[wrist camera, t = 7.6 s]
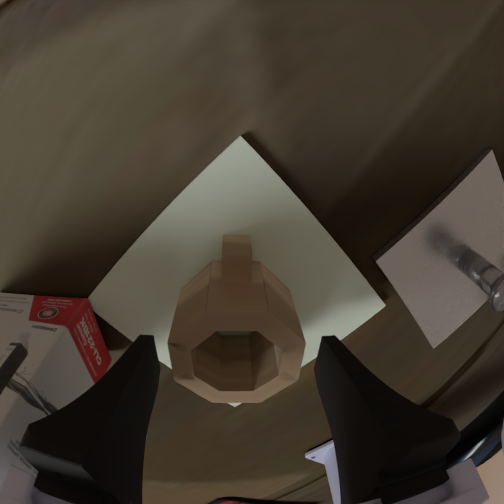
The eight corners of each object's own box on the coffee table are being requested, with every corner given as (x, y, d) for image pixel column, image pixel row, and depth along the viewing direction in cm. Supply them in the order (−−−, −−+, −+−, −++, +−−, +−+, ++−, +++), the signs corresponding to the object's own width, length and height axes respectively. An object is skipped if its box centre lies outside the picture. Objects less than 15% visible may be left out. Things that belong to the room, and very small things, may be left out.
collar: (282, 346, 17) (293, 400, 13) (186, 346, 16) (178, 401, 13) (295, 235, 14) (317, 279, 10) (176, 234, 13) (157, 278, 10)
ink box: (89, 293, 14) (-25, 479, 4) (114, 360, 17) (49, 528, 6) (-4, 288, 15) (-103, 404, 4) (22, 345, 17) (-50, 462, 6)
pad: (382, 300, 16) (385, 305, 16) (234, 401, 19) (234, 407, 19) (240, 135, 12) (240, 136, 12) (87, 298, 15) (84, 303, 15)
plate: (518, 257, 16) (555, 286, 12) (430, 344, 19) (458, 386, 15) (486, 147, 13) (541, 165, 9) (372, 257, 15) (412, 304, 11)
